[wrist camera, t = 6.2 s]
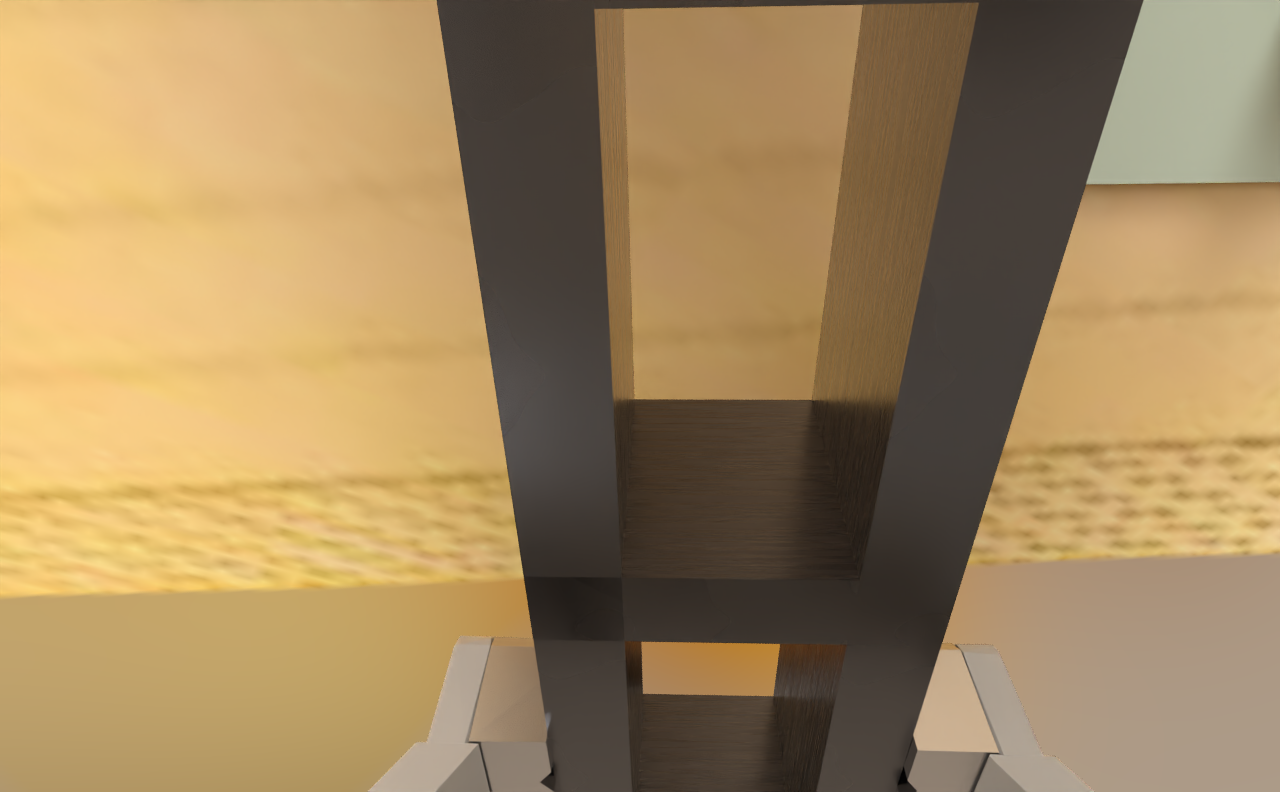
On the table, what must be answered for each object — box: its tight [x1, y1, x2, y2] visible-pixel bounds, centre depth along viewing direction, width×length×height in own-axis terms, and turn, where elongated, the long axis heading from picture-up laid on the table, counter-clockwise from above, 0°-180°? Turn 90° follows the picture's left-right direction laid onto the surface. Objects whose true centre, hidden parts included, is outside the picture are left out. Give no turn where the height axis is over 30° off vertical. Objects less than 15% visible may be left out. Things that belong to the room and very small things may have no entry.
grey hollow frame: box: [437, 0, 1144, 792], centre depth 11 cm, size 21×8×3 cm, turn 1°
